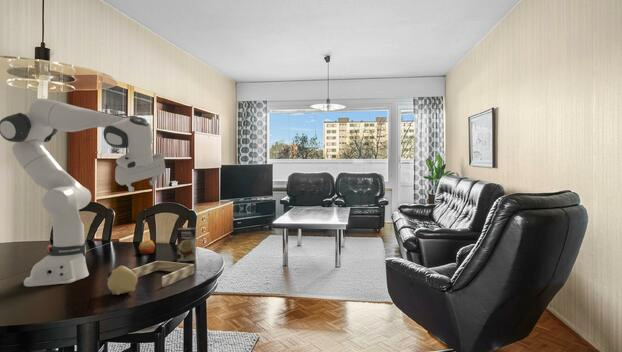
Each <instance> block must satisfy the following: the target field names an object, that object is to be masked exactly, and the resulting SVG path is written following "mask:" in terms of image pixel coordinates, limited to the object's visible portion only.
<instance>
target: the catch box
mask: <svg viewBox="0 0 622 352" xmlns="http://www.w3.org/2000/svg"><path fill="white" fill-rule="evenodd" d="M195 266H196V265H195V264H194V263H185V262H177V261H176V262H175V261H174V262H173V261H167V260H166V261H165V260H156V261H152V262H150V263H147V264H144V265H141V266H138V267H135V268H132V269H130V270H131V271H133V272H134V273H135V275H136V276H137V278H141V277H144V276H145V275H148V274H150V273H153V272H156V271H163V272H171V273H168V274H165V275H162V276H161V288H165V287H167V286H170V285H172V284H174V283H176V282H178V281H181V280H183V279H186V278H187V277H189V276H192V275H194V274H195V273H196V271H195V269H196V267H195Z"/></svg>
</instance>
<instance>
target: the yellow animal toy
mask: <svg viewBox="0 0 622 352" xmlns="http://www.w3.org/2000/svg"><path fill="white" fill-rule="evenodd" d="M131 270H132V269H130V268H128V267H127V266H125V265H120V266H117V267H116V268H115V269H112V271H109V272H108V273H107V276H106V277H107V287H108V289H109V290H110V291H111V293H112V295H113V296H114V295H116V296H117V295H118V296H119V295H120V294H126V293H129V292H134V291H136V286H137V283H138V280H139V279H138V278H139V277H138V278H137V276H136V275H135V273H134V272H133V271H131Z"/></svg>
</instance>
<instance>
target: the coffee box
mask: <svg viewBox="0 0 622 352" xmlns="http://www.w3.org/2000/svg"><path fill="white" fill-rule="evenodd" d="M176 233H177V235H176V236H177V237H176V239H177V240H176V241H177V242H176V263H179V262H192V261H196V260H197V227H177V232H176Z"/></svg>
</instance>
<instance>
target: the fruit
mask: <svg viewBox="0 0 622 352" xmlns="http://www.w3.org/2000/svg"><path fill="white" fill-rule="evenodd" d="M138 249H139V251H140V253H141V254H142V255H150V254H153V253H154V252H155V249H156V244H155V242H154V241H153V240H151V239H149V240H144V241H142V242H141V243H140V244H139V246H138Z"/></svg>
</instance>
